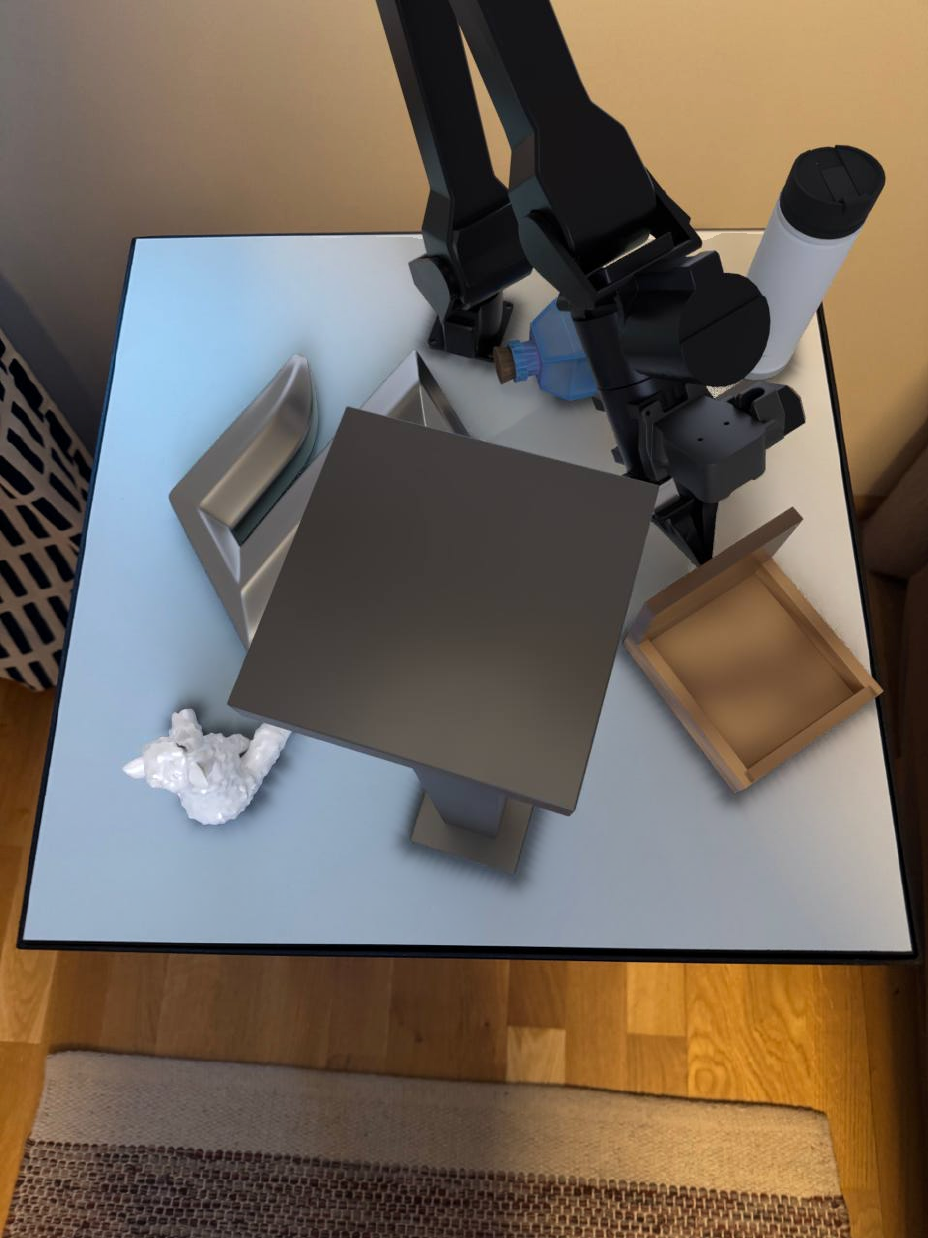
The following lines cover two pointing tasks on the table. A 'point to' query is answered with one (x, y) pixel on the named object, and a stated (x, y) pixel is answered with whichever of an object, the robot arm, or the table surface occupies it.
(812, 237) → the travel mug
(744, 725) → the oak drawer
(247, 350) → the table surface
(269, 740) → the white creature statuette
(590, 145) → the robot arm
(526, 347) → the perfume bottle
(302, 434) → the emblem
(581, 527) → the plant stand
